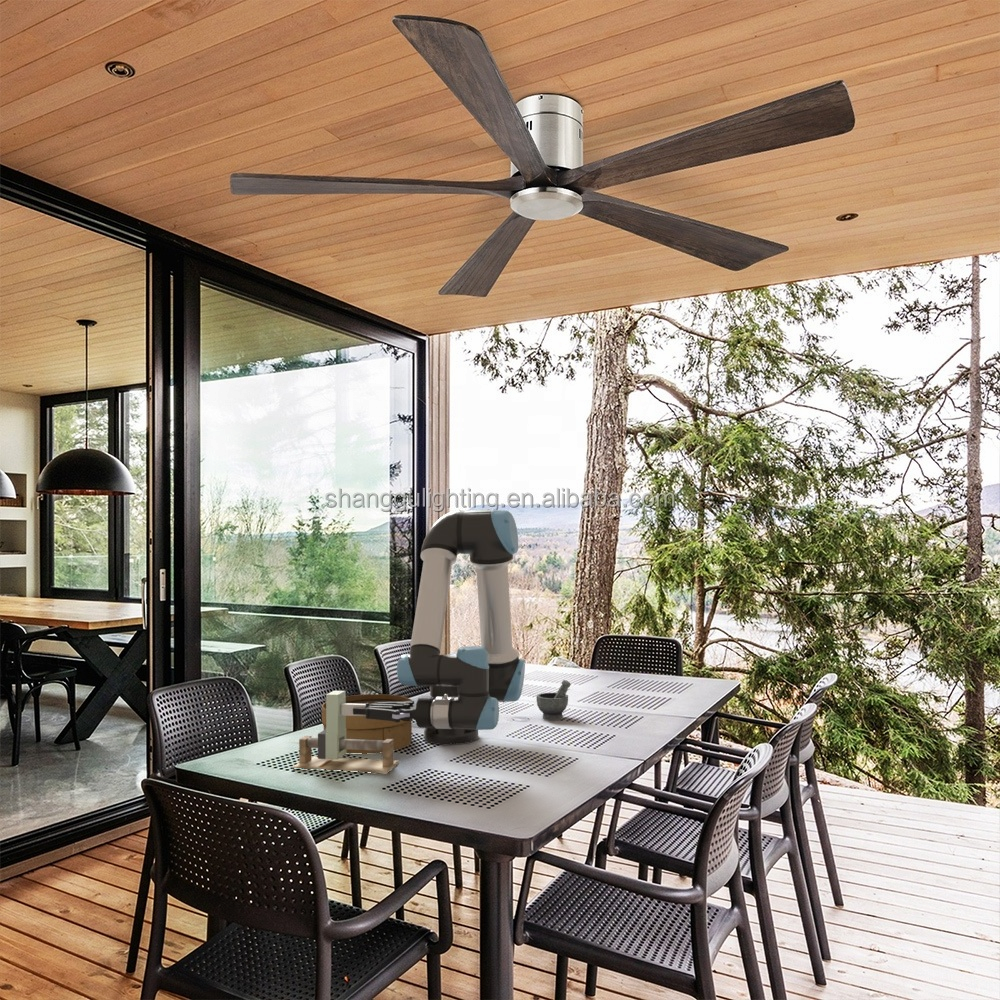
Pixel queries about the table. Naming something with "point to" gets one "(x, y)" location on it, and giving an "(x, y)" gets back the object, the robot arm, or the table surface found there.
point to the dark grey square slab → (322, 745)
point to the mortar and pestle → (554, 702)
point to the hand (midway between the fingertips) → (342, 709)
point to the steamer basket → (375, 724)
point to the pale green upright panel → (335, 724)
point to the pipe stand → (349, 763)
